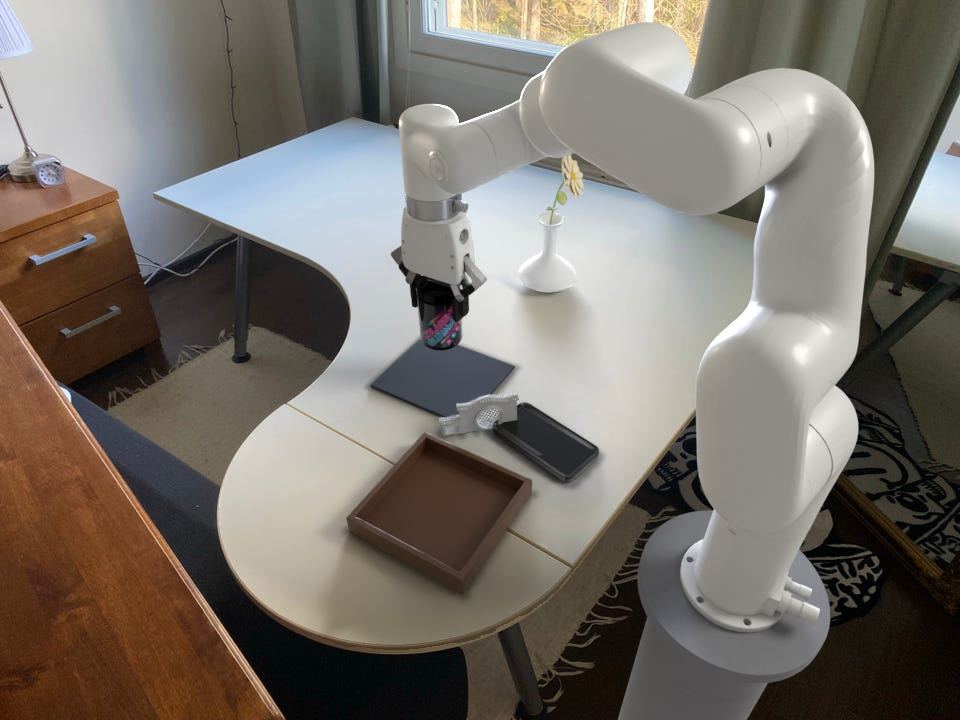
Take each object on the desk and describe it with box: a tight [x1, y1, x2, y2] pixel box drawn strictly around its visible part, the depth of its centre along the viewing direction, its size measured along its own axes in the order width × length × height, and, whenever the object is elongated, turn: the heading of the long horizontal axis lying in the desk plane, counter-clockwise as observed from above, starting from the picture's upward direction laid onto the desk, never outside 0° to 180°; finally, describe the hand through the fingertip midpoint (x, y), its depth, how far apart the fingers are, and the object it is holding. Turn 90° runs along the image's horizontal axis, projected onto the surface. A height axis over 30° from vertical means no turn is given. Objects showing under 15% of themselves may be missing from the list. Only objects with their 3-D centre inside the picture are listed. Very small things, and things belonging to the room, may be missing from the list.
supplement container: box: [416, 275, 464, 351], centre depth 101 cm, size 7×7×10 cm
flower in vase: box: [517, 154, 585, 293], centre depth 124 cm, size 13×11×25 cm
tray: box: [345, 431, 533, 595], centre depth 88 cm, size 18×18×3 cm
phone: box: [492, 401, 600, 483], centre depth 98 cm, size 8×1×15 cm
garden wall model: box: [438, 391, 520, 438], centre depth 99 cm, size 12×2×6 cm, turn 103°
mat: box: [370, 338, 516, 419], centre depth 110 cm, size 18×16×1 cm
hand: (439, 309), depth 101 cm, fingers closed on supplement container, 6 cm apart
